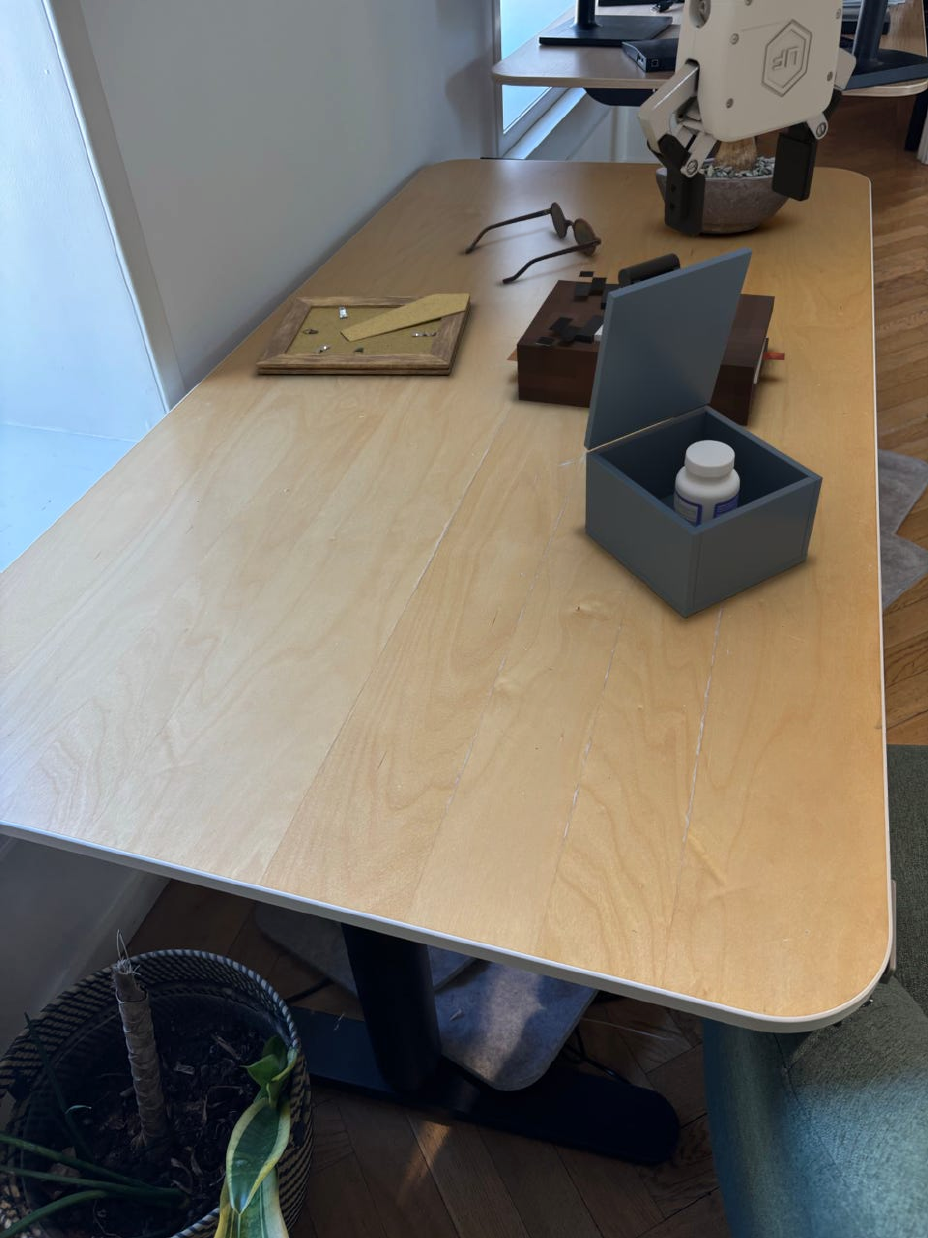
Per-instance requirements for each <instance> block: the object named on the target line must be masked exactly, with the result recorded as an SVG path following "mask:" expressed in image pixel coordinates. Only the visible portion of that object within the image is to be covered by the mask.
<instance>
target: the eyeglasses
mask: <svg viewBox="0 0 928 1238" xmlns="http://www.w3.org/2000/svg"><path fill="white" fill-rule="evenodd" d="M548 215H550V218H551V222H552V226H553V229H554V230H555V233H556V234H557V236H558V237H559V238H560V239H565V238H566V237H567V234H568V229H569V227H571V228H572V230H573V238H574V241H575V242H576V245H573V246H569V247H566V248H562V249H560V250H557V251H553V252H551V253H547V254H543V255H541V256H537V257H535V258H533V259H530V260H529V261H528V262H526V263H525V264H524V265H523V266H522V267H521V268H520V269H519V270H518V271H517V272H516V273H515V274H514V275H512V276H509V277H506V278H503V279H502V284H508V283H512V282H514V281H516V280H517V279H519V278H520V277H521V276H522V275H523V274H524V273H525V272H526V271H527V270H528V269H529V268H530V267H531V266H533V265H534V264H537V263H540V262H543V261H546V260H549V259H552V258H555V257H556V258H557V257H559V256H564V255H567V254H568V255H569V254H572V253H576V252H580V251H582V252H583V253H585V254H586V255H592V254H594V253H595V252H596V249H597V246H599V245H601V244H602V238H600V237H597V236H596V234H595V232H594V229H593V228H592V226H591V225H590V223H589V222H588V221H587V220H586V219H584V218H581V217H578V218H576V219H575V220H574V221H572V220H571V219H566V217H565V214H564V212H563V210H562V208H561V206H560V204H559V203H558V202H556V201H554V202H551V204H550V207H548V208H545V209H541V210H538V211H534V212H530V213H527V214H524V215H520V216H516V217H514V218H509V219H506V220H503V221H500V222H497V223H496V222H495V223H493V224H491V225H489V226H486V227H485V228H483V229H482V230H481V231H480V232H479V234H478V235H477V236H476V237H475V239H474V240H473V242H472V243H471V244H470V245H469V246H468V247H467V248H466V249H465V253H467V254H469V253H470V252H471V251H473V250H474V249H475V247H476V246H477V244H478V243H479V242H480V240H482V238H483V237H484V235H485V234H487V233H488V232H489V231H491V230H494V229H498V228H501V227H505V226H508V225H512V224H517V223H520V222H525V221H529V220H533V219H538V218H541V217H544V216H548Z"/></svg>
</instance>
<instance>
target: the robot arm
mask: <svg viewBox="0 0 928 1238" xmlns="http://www.w3.org/2000/svg"><path fill="white" fill-rule="evenodd" d="M843 3H844V0H684V4H683V10H682V16H681V21H680V29H679V36H678V42H677V43H678V44H677V52H676V60H675V69H674V71H675V72H674V74H673V75H672V76H671V77H670V78H669V79H668V80H667V81H665V83H663V84H662V85H661V87H659V88H658V89H657V90H656V91H655V92H653V94H651V96H650V97H648V98H647V99H646V100H645V101H644V102H643V103H642V104H641V105H640V106H639V107H638V110H637V114H636V115H637V119H638V122H639V124H640V126H641V129H642V132H643V134H644V137H645V138H646V146H647V148H648V150H649V151H650V152H651V153H652V154H653V155H654V156H655V157H656V159H657V160H658V163H659V165H660V167H661V168H662V167H665V168H667V178H666V194H665V202H664V217H663V219H664V224H665V226H666V227H668V228H671V229H673V230H675V231H677V232H679V233H681V234H684V235H686V236H688V237H691V238H692V237H696V236H698V235H700V231H701V229H702V217H703V206H704V194H705V183H706V178H705V175H704V174H702V173H699V172H698V171H699V169H700V167H701V166H702V164H703V162H704V161H705V159H707V158H708V156H709V154H710V153H711V151H712V149H713V147H714V146H715V144H716V143H717V141H719V142H720V141H721V142H722V141H724V142H732V141H737V140H741V139H745V138H749V137H752V136H754V137H756V136H760V135H763V134H766V133H769V132H773V131H776V130H780V129H784V128H786V129H787V130H782V131H779V132H778V137H777V141H776V149H775V156H774V157H775V163H774V171H773V178H772V186H771V188H772V190H773V191H774V192H776V193H778V194H781V195H783V196H786V197H789V199H792V200H795V201H797V202H801V203H802V202H804V201H807V200H809V198H810V195H811V189H812V183H813V177H814V170H815V164H816V159H817V158H816V157H817V153H818V146H819V145H818V144H819V141H818V140H822V139H823V138H824V137H825V136H826V134H827V132H828V131H829V130H828V129H829V123H828V122H829V120H830V119H831V117H832V116H833V115H834V113H835V112H836V110H837V109H838V108H839V106H840V104H841V103H842V100H843V92H842V91H844V90H845V89H846V86H847V85H848V83H849V80H850V78H851V76H852V74H853V72H854V69H855V68H856V65H857V58H856V56H855V55H853V54H852V53H850V52H848V51H847V50H845V49H844V48H842V47H840V42H841V41H840V40H841V32H842V31H841V30H842V20H843ZM672 115H673V116H674V121H675V124H676V126H675V128H674V129H673V131H672V127H671V126H672V125H671V123H670V122H671V117H672ZM693 136H696V137H695V139H694V140H693V142H692V144H691V146H690V147H689V148H688V149H686V148H687V146H688V144H689V143H690V141H691V139H692V138H693Z"/></svg>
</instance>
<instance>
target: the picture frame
mask: <svg viewBox="0 0 928 1238" xmlns="http://www.w3.org/2000/svg"><path fill="white" fill-rule="evenodd" d="M471 304H472V303H471V294H470V293H432V294H430V295H373V296H371V295H370V296H369V295H368V296H367V295H366V296H365V295H363V296H361V295H360V296H358V295H357V296H295V298H294V300H293V302H292V303H291V305H290V306H289V308H288V310H287V312H286V313H285V315H284V317H283V319H282V320H281V322H280V323H279V325H278V327H277V329H275V332H274V333H273V335H272V336H271V338H270V340H269V342H268V343H267V345H266V347H265V348H264V349H263V351H262V353H261V355H260V356H259V358H258V360H257V361H256V367H257V368H258V369H257V373H258V374H263V375H264V374H266V375H267V374H273V375H276V374H277V375H278V374H279V375H280V374H282V375H283V374H285V375H287V374H288V375H296V374H298V375H302V374H303V375H450V374H451V372H452V368H453V365H454V362H455V358H456V356H457V351H458V349H459V345H460V343H461V342H460V341H461V339H462V335H463V332H464V329H465V325H466V323H467V318H468V315H469V313H470V310H471V309H470V308H471Z"/></svg>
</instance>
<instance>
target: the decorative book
mask: <svg viewBox="0 0 928 1238" xmlns="http://www.w3.org/2000/svg"><path fill="white" fill-rule="evenodd" d="M594 275H595V270H580V271H579V274H578V278H592V279H591V281H580V280H579V281H577V280H566V279H565V280H564V279H557V282H556V283H555V284H554V286H553V287H552V289H551V291H550V292H549V294H548V295H547V297H546V298H545V300H544V301H543V303H542V304H541V306H540V308H539V309H538V310H537V312H536V313H535V315H534V317H533V319H532V320H531V321H530V323H529V324H528V326H527V328H526V329H525V331H524V332H523V333H522V335H521V337H520V339H519V340H518V342H517V343H516V348H515V349H514V350H513V352H512V353H510V355H509V356H508V358H506V360H507V361H512V362H516V363H517V365H516V366H517V386H518V390H517V391H518V400H520V401H521V400H522V401H531V402H539V403H548V404H556V405H564V406H575V407H582V408H583V407H584V408H590V403H591V396H592V390H593V384H594V378H595V372H596V366H597V359H598V353H599V347H600V341H601V335H602V329H603V323H604V316H605V310H606V304H607V298H608V293H609V292H612V291H615V290H618V289H621V287H620V285H619V283H607V280H608V277H607V276H606V277H605V276H603V277H601V276H600V277H599V276H594ZM775 299H776V295H763V294H751V293H741V295H740V298H739V302H738V305H737V309H736V312H735V316H734V319H733V323H732V326H731V330H730V333H729V337H728V341H727V344H726V348H725V351H724V355H723V358H722V362H721V365H720V369H719V372H718V376H717V379H716V383H715V386H714V390H713V394H712V397H711V401H710V403H708V404H706V405H707V406H709V407H711V408H712V409H714V410H715V411H717V412H719V413H720V414H722V415H723V416H725V417H727V418H728V419H730V420H731V421H733V422H735V423H736V424H738V425H739V426H748V423H749V419H750V416H751V412H752V408H753V405H754V401H755V398H756V393H757V390H758V387H759V384H760V379H761V375H762V372H763V368H764V365H765V361H769V360H772V361H785V359H786V358H785V357H786V352H774V351H773V352H772V351H771V352H770V351H768V349H769V342H770V337H767V336H768V331H769V327H770V322H771V319H772V317H773V313H774V307H775ZM706 405H703V406H700V407H698V408H701V407H704V406H706ZM698 408H695V409H693V410H696V409H698ZM693 410H690V411H688V412H691V411H693ZM688 412H685V413H683V414H686V413H688ZM683 414H680V415H683ZM680 415H678V416H680ZM678 416H675V417H678ZM675 417H674V418H675Z"/></svg>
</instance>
